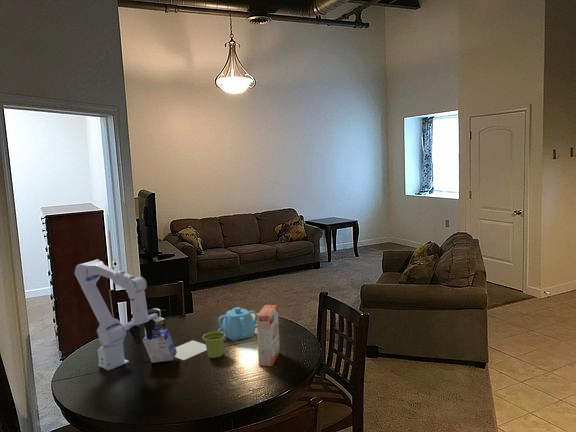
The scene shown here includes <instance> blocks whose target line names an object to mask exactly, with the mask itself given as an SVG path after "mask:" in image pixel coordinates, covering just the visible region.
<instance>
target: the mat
mask: <svg viewBox="0 0 576 432" xmlns="http://www.w3.org/2000/svg"><path fill="white" fill-rule="evenodd" d="M175 348H176V350H177V353H176V355H175V357H174V359H175V358H176V359H178V360H180V361H187V360H189V359H190V358H194V357H196V356H197V355H198V356H199V355H200V354H202V353H204V352H207V349H206V344H205V343H202V342H199V341H196V340H194V339H193V340H192V339H191V340H190V341H188V342H185V343H183V344H180V345H178V346H175Z"/></svg>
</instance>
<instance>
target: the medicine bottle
mask: <svg viewBox="0 0 576 432" xmlns="http://www.w3.org/2000/svg"><path fill="white" fill-rule="evenodd" d="M147 312H148V315H151V314H154V313H155V314H158V319H153V321H155V322H156V323H155V326H154V327H159V330H165V329H167V328H166V326H167V325H166V318H163V317H161V315H162V314H161V309H160V308H156V307H155V308H151V309H147ZM153 331H158V330H157V329H153ZM145 334H146V330H145V329H144V335H145Z"/></svg>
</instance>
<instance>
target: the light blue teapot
mask: <svg viewBox="0 0 576 432" xmlns="http://www.w3.org/2000/svg"><path fill="white" fill-rule="evenodd" d="M252 314H255V315H254V318H253V316H252ZM257 315H258V312H257V311H255V310H252V309H251V310H248V309H247V308H246V309H245V308H242V307H239V306H237V307H234V308H232V309H231V310H230V309H229V310H228V311H226V313H225V314H222V315H221V316H219V317H218V318H217V319H218V320H217V322H218V325H219V328H218V330H217V332H223V333H225V337H226V338H227V339H228V340H231V341H232V342H236V341H238V340H243V339H250V338H252V337H253V336H254V334H255V332H256V329H257ZM222 319H223V321H222V322H221V320H222Z"/></svg>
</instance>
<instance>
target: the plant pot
mask: <svg viewBox="0 0 576 432" xmlns="http://www.w3.org/2000/svg"><path fill="white" fill-rule="evenodd" d="M225 337H226V336H225V333H223V332H222V331H220V332H218V331H210V332H207V333H205V334H203V336H202V340H203V341H204V344H205V345H206V349H207V351H206V352H207V356H208V358H209V359H216V358H220V357H222V356H223V354H224V340H225Z"/></svg>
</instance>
